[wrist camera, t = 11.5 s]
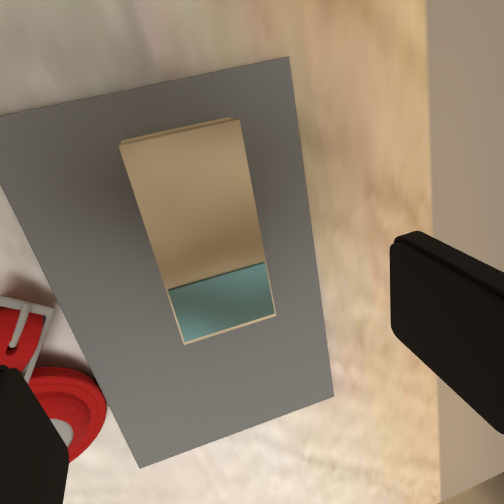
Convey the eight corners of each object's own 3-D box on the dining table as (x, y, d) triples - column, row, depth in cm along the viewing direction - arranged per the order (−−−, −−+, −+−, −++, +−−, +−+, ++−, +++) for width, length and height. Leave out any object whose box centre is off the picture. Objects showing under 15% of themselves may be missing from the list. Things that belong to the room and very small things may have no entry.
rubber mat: (139, 460, 25) (139, 468, 24) (-25, 121, 16) (-30, 122, 15) (330, 390, 27) (334, 396, 27) (284, 57, 18) (288, 56, 17)
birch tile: (122, 140, 17) (118, 146, 15) (227, 117, 18) (240, 119, 15) (179, 319, 21) (184, 347, 19) (262, 293, 22) (277, 317, 20)
